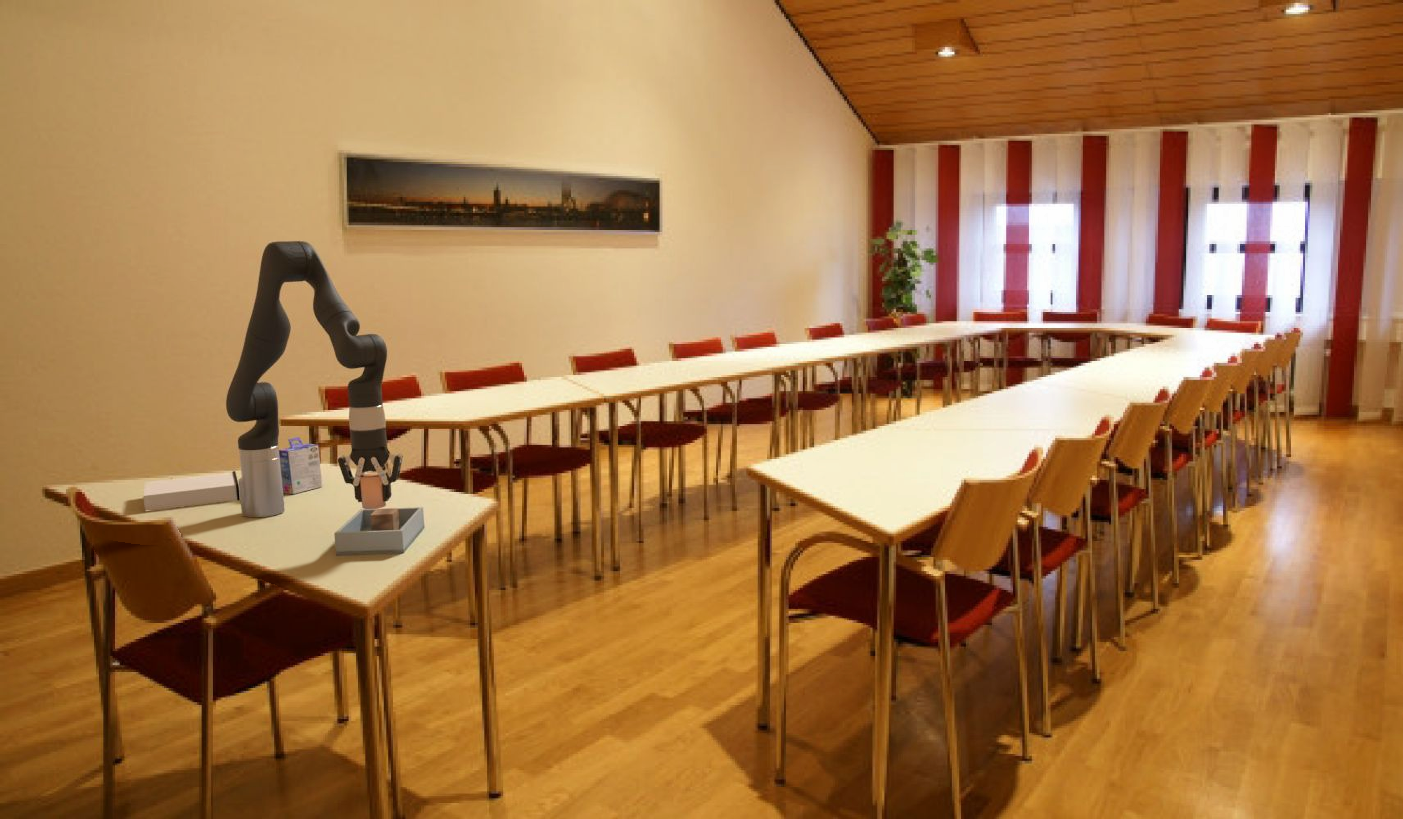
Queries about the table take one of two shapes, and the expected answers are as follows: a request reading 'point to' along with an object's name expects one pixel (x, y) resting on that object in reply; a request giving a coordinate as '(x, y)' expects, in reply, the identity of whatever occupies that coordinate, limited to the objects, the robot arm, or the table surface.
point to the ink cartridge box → (300, 467)
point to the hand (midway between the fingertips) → (373, 500)
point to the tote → (378, 533)
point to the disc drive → (191, 491)
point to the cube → (385, 519)
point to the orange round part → (371, 491)
